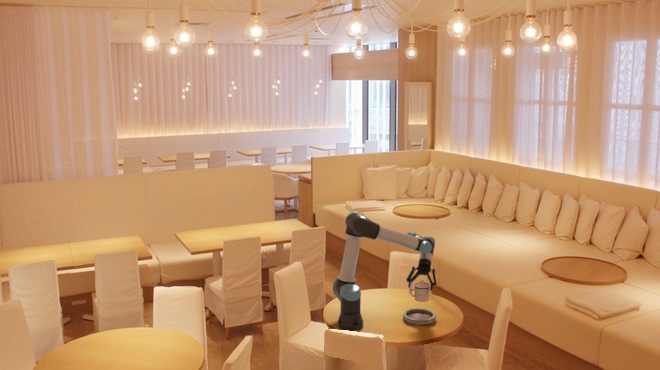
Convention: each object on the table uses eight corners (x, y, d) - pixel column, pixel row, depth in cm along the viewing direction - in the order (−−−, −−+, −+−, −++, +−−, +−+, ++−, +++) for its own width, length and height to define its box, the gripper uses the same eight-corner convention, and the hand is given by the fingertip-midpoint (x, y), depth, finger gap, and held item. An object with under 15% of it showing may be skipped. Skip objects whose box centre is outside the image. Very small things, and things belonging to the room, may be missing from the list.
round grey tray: (399, 323, 378) (399, 318, 377) (407, 311, 395) (407, 306, 395) (431, 327, 371) (432, 322, 370) (438, 315, 389) (438, 310, 388)
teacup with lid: (425, 295, 387) (426, 277, 384) (432, 301, 378) (432, 282, 376) (407, 298, 383) (407, 279, 381) (413, 303, 375) (413, 285, 372)
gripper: (445, 265, 387) (439, 299, 376) (407, 261, 395) (401, 294, 384) (443, 259, 381) (438, 293, 370) (405, 255, 389) (399, 288, 378)
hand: (419, 294), depth 377 cm, fingers closed on teacup with lid, 11 cm apart
